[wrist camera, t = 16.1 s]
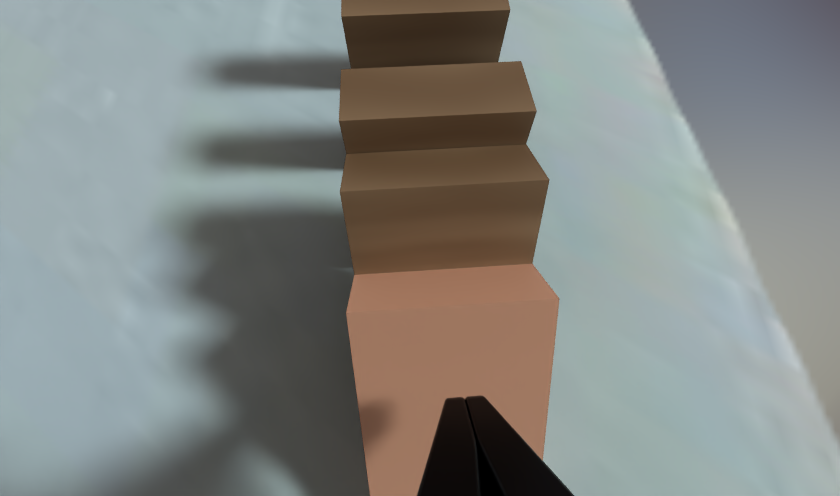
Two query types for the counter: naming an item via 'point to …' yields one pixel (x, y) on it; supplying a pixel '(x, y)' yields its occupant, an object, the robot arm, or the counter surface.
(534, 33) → the counter surface
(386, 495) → the terracotta domino
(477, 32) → the walnut domino
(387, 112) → the walnut domino
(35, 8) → the counter surface
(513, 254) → the walnut domino
